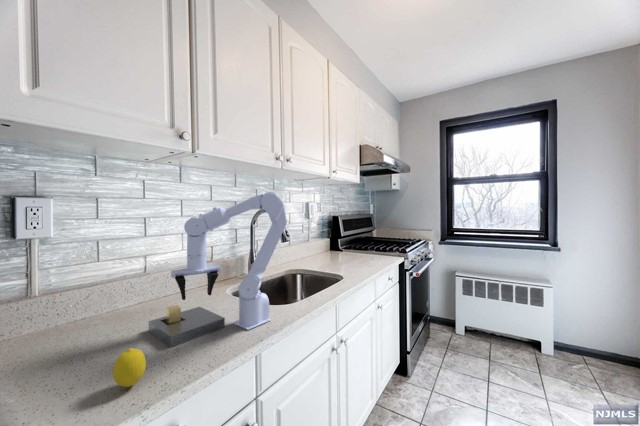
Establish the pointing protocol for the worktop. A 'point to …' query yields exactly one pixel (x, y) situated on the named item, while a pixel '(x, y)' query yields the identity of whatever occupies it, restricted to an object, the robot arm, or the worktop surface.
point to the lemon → (129, 367)
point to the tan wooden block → (173, 314)
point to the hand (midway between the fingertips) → (196, 296)
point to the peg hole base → (186, 326)
